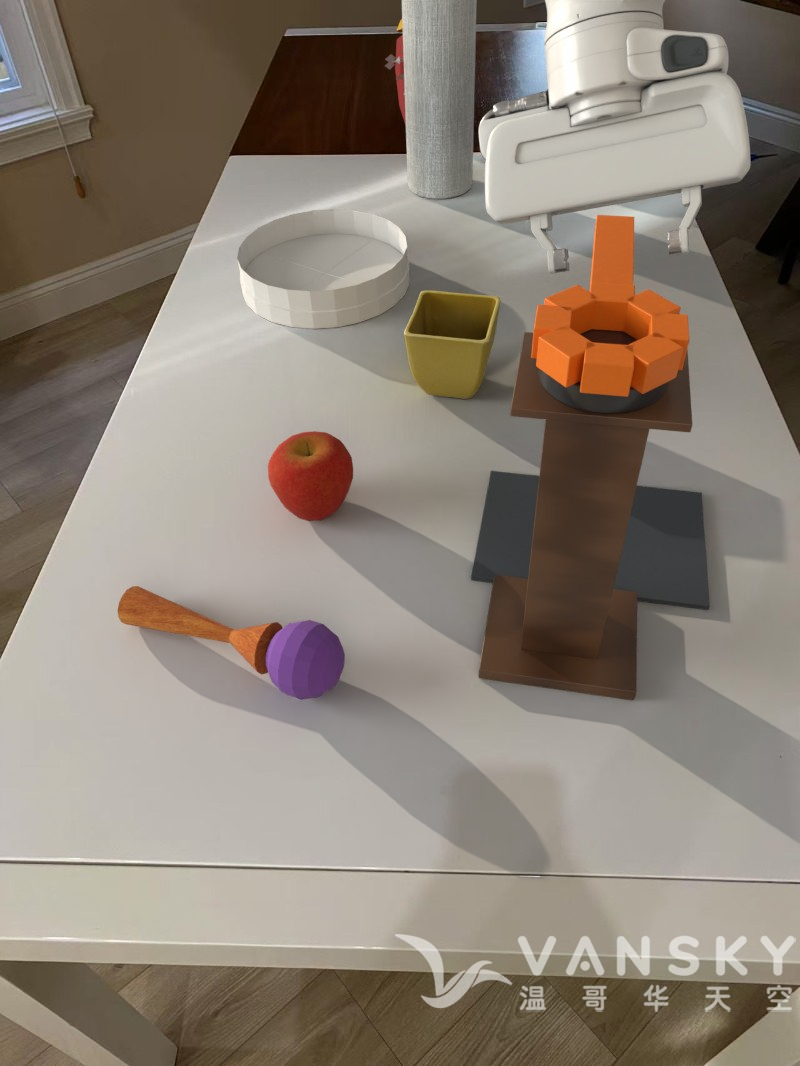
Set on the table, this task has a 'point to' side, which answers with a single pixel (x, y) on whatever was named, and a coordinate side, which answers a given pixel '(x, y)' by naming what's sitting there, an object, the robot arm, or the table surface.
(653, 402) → the stand
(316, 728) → the table surface
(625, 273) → the orange ring
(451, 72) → the vase
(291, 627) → the kendama
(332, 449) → the apple
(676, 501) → the mat
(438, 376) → the flower pot
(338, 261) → the dish
